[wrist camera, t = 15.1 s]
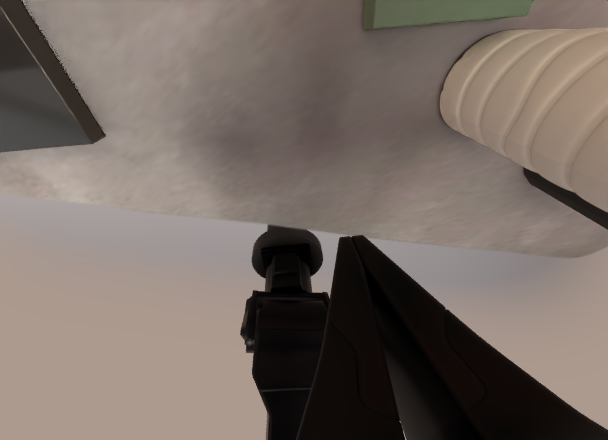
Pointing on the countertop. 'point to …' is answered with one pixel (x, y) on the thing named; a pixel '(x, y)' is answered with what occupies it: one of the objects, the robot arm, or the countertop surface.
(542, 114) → the water bottle
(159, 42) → the countertop surface
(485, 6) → the green button mount
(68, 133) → the tap base
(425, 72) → the countertop surface
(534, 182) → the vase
